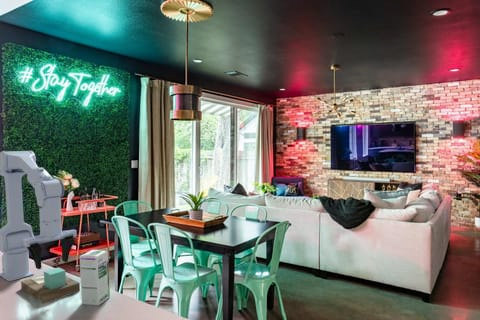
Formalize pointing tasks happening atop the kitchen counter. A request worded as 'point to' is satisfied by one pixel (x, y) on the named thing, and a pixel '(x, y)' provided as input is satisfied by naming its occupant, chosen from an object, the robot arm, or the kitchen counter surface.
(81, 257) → the syrup box
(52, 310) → the kitchen counter surface
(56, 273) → the teal block
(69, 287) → the pocket plate
